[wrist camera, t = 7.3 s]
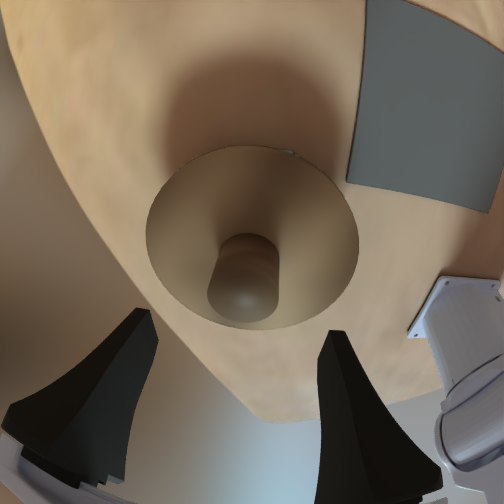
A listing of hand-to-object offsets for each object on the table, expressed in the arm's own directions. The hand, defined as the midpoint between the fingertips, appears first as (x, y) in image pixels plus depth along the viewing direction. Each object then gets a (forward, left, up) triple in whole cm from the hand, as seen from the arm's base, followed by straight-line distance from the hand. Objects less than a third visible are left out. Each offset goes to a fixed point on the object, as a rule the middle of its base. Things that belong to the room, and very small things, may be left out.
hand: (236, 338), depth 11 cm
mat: (-12, -10, -10) cm, 18 cm away
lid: (0, 0, -6) cm, 6 cm away
